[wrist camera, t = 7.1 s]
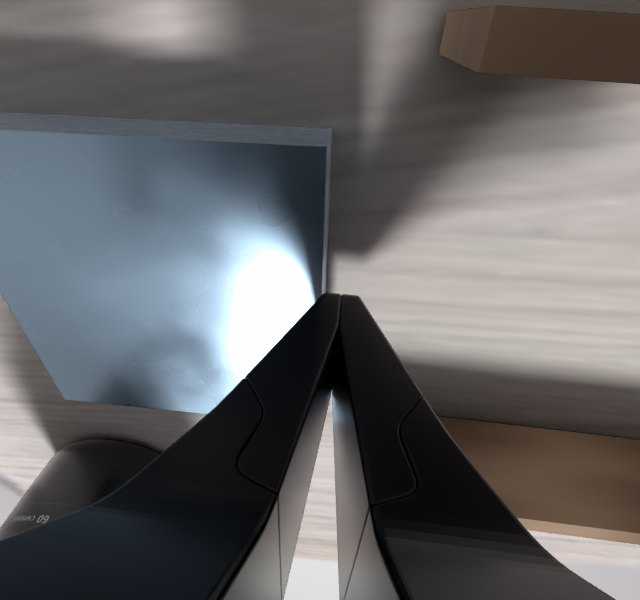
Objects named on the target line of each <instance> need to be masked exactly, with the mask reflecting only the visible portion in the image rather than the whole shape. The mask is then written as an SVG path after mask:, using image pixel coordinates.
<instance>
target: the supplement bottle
mask: <svg viewBox="0 0 640 600" xmlns="http://www.w3.org/2000/svg"><path fill="white" fill-rule="evenodd" d="M159 455H160V454H158V453H156V452H154V451H151V450H149V449H146V448H143V447H140V446H137V445H134V444H130V443H126V442H121V441H115V440H107V439H88V440H82V441H78V442H75V443H72V444H70V445H68V446H66V447H64V448H62V449H61V450H59V451H58V452H57V453H56V454H55V455H54V456H53V457H52V458H51V460H50V461H49V462H48V463H47V465H46V466H45V467H44V469H43V470H42V471H41V473H40V474H39V476H38V477H37V478H36V479H35V481H34V482H33V483H32V485H31V486H30V487H29V489H28V490H27V492H26V493H25V494H24V496H23V497H22V498H21V500H20V501H19V503H18V504H17V506H16V507H15V508H14V509H13V511H12V512H11V514H10V515H9V516H8V518H7V519H6V520H5V522H4V523H3V524H2V526H1V527H0V540H1V539H4V538H6V537H9V536H12V535H14V534H17V533H20V532H22V531H25V530H27V529H30V528H33V527H35V526H38V525H41V524H43V523H46V522H49V521H51V520H54V519H56V518H59V517H62V516H64V515H67V514H70V513H72V512H75V511H78V510H80V509H83V508H85V507H87V506H90V505H92V504H93V503H95V502H97V501H99V500H101V499H103V498H104V497H106V496H108V495H109V494H111V493H113V492H114V491H116V490H117V489H118V488H120V487H121V486H123V485H124V484H125V483H127V482H128V481H129V480H130V479H132V478H133V477H134V476H135V475H137V474H138V473H139V472H140V471H141V470H143V469H144V468H145V467H146V466H147V465H148V464H150V463H151V462H152V461H153V460H154V459H156V458H157V457H158V456H159Z"/></svg>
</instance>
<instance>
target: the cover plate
mask: <svg viewBox="0 0 640 600" xmlns="http://www.w3.org/2000/svg"><path fill="white" fill-rule="evenodd" d="M331 153H332V128H312V127H292V126H272V125H252V124H232V123H212V122H192V121H172V120H152V119H132V118H112V117H92V116H72V115H52V114H32V113H12V112H0V293H1V294H2V296H3V298H4V299H5V301H6V303H7V304H8V306H9V308H10V309H11V311H12V313H13V314H14V316H15V318H16V320H17V321H18V323H19V325H20V326H21V328H22V330H23V331H24V333H25V335H26V336H27V338H28V340H29V341H30V343H31V345H32V346H33V348H34V350H35V351H36V353H37V355H38V356H39V358H40V360H41V361H42V363H43V365H44V366H45V368H46V370H47V371H48V373H49V375H50V376H51V378H52V380H53V381H54V383H55V385H56V386H57V388H58V390H59V391H60V393H61V395H62V396H63V398H64V400H74V401H84V402H94V403H104V404H114V405H124V406H134V407H143V408H153V409H163V410H173V411H183V412H193V413H203V414H208V413H209V412H210V411H211V410H213V409H214V408H215V407H216V406H217V405H218V404H219V403H220V402H221V401H222V400H223V399H224V398H225V397H226V396H227V395H228V394H229V393H230V392H231V391H232V390H233V389H234V388H235V387H236V386H237V384H238V383H239V382H240V381H241V380H242V379H243V378H245V377H246V375H247V374H248V373H249V372H250V371H251V370H252V369H253V368H254V367H255V366H256V364H257V363H258V362H259V361H260V360H261V359H262V358H263V357H264V356H265V355H266V354H267V353H268V352H269V351H270V350H271V348H272V347H273V346H274V345H275V344H276V343H277V342H278V341H279V340H280V339H281V338H282V337H283V336H284V335H285V334H286V332H287V331H288V330H289V329H290V328H291V327H292V326H293V325H294V324H295V323H296V322H297V321H298V320H299V319H300V318H301V316H302V315H303V314H304V313H305V312H306V311H307V310H308V309H309V308H310V307H311V306H312V305H313V304H314V303H315V302H316V301H317V299H318V298H319V297H320V296H321V295H322V294H323V293H326V274H327V250H328V226H329V202H330V178H331Z"/></svg>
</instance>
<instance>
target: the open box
mask: <svg viewBox="0 0 640 600" xmlns="http://www.w3.org/2000/svg"><path fill="white" fill-rule="evenodd" d="M439 55H441V56H443V57H445V58H448V59H450V60H452V61H454V62H456V63H458V64H460V65H463V66H465V67H467V68H469V69H471V70H473V71H475V72H477V73H487V74H502V75H516V76H530V77H545V78H559V79H574V80H588V81H603V82H617V83H631V84H640V14H628V13H612V12H595V11H579V10H562V9H545V8H529V7H512V6H488V7H480V8H472V9H464V10H456V11H448V12H447V15H446V20H445V25H444V30H443V35H442V40H441V45H440V50H439ZM437 417H438V418H439V420H440V421H441V423H442V424H443V426H444V427H445V428H446V430H447V431H448V433H449V434H450V436H451V437H452V438H453V439H454V441H455V442H456V443H457V445H458V446H459V447H460V448H461V450H462V451H463V452H464V454H465V455H466V456H467V457H468V459H469V460H470V461H471V462H472V464H473V465H474V466H475V467H476V469H477V470H478V471H479V472H480V473H481V475H482V476H483V477H484V478H485V480H486V481H487V482H488V483H489V484H490V486H491V487H492V488H493V489H494V491H495V492H496V493H497V494H498V496H499V497H500V498H501V499H502V500H503V502H504V503H505V504H506V505H507V507H508V508H509V509H510V510H511V511H512V513H513V514H514V515H515V516H516V518H517V519H518V520H519V521H520V522H521V524H522V525H523V526H524V527H525V528H526V529H527V530H532V531H539V532H547V533H554V534H562V535H570V536H577V537H585V538H593V539H600V540H608V541H616V542H623V543H631V544H638V545H640V440H637V439H628V438H620V437H611V436H603V435H594V434H586V433H577V432H569V431H560V430H552V429H543V428H534V427H526V426H517V425H509V424H500V423H492V422H483V421H475V420H466V419H457V418H449V417H440V416H437Z"/></svg>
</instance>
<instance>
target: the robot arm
mask: <svg viewBox="0 0 640 600" xmlns="http://www.w3.org/2000/svg"><path fill="white" fill-rule="evenodd" d="M331 391H332V407H333V435H334V462H335V489H336V516H337V543H338V569H339V597H340V600H615V599H614V598H612V597H611V596H609V595H608V594H606V593H605V592H603V591H601V590H600V589H598V588H597V587H595V586H594V585H592V584H591V583H589V582H587V581H586V580H584V579H583V578H581V577H580V576H578V575H577V574H575V573H573V572H572V571H571V570H569V569H568V568H567V567H565V566H564V565H563V564H562V563H560V562H559V561H558V560H557V559H555V558H554V557H553V556H552V555H551V554H550V553H549V552H548V551H547V550H545V549H544V548H543V547H542V546H541V545H540V544H539V543H538V542H537V541H536V539H535V538H534V537H533V536H532V535H531V534H530V533H529V532H528V531H527V529H526V528H525V527H524V526H523V525H522V524H521V522H520V521H519V520H518V519H517V518H516V516H515V515H514V514H513V513H512V511H511V510H510V509H509V508H508V507H507V505H506V504H505V503H504V502H503V500H502V499H501V498H500V497H499V496H498V494H497V493H496V492H495V491H494V489H493V488H492V487H491V486H490V484H489V483H488V482H487V481H486V480H485V478H484V477H483V476H482V475H481V473H480V472H479V471H478V470H477V469H476V467H475V466H474V465H473V464H472V462H471V461H470V460H469V459H468V457H467V456H466V455H465V454H464V452H463V451H462V450H461V448H460V447H459V446H458V445H457V443H456V442H455V441H454V439H453V438H452V437H451V436H450V434H449V433H448V431H447V430H446V428H445V427H444V426H443V424H442V423H441V421H440V420H439V418H438V417H437V415H436V414H435V413H434V411H433V409H432V408H431V406H430V405H429V403H428V402H427V400H426V399H425V398H423V394H422V393H421V391H420V390H419V388H418V386H417V385H416V383H415V382H414V380H413V379H412V377H411V376H410V374H409V373H408V371H407V369H406V368H405V366H404V365H403V363H402V362H401V360H400V359H399V357H398V356H397V354H396V352H395V351H394V349H393V348H392V346H391V345H390V343H389V342H388V340H387V339H386V337H385V335H384V334H383V332H382V331H381V329H380V328H379V326H378V325H377V323H376V322H375V320H374V319H373V317H372V315H371V314H370V312H369V311H368V309H367V308H366V306H365V305H364V303H363V302H362V300H361V298H360V297H359V296H356V295H345V294H343V295H342V296H341V295H340V294H335V293H323V294H322V295H321V296H320V297H319V298H318V299H317V301H316V302H315V303H314V304H313V305H312V306H311V307H310V308H309V309H308V310H307V311H306V312H305V313H304V314H303V315H302V316H301V318H300V319H299V320H298V321H297V322H296V323H295V324H294V325H293V326H292V327H291V328H290V329H289V330H288V331H287V332H286V334H285V335H284V336H283V337H282V338H281V339H280V340H279V341H278V342H277V343H276V344H275V345H274V346H273V347H272V348H271V350H270V351H269V352H268V353H267V354H266V355H265V356H264V357H263V358H262V359H261V360H260V361H259V362H258V363H257V364H256V366H255V367H254V368H253V369H252V370H251V371H250V372H249V373H248V374H247V375H246V377H245V378H243V379H242V380H241V381H240V382H239V383H238V384H237V386H236V387H235V388H234V389H233V390H232V391H231V392H230V393H229V394H228V395H227V396H226V397H225V398H224V399H223V400H222V401H221V402H220V403H219V404H218V405H217V406H216V407H215V408H214V409H213V410H211V411H210V412H209V413H208V414H207V415H206V416H205V417H204V418H202V419H201V420H200V421H199V422H198V423H197V424H196V425H195V426H193V427H192V428H191V429H190V430H189V431H188V432H186V433H185V434H184V435H183V436H182V437H180V438H179V439H178V440H177V441H176V442H175V443H173V444H172V445H171V446H170V447H169V448H167V449H166V450H165V451H164V452H163V453H161V454H160V455H159V456H158V457H157V458H156V459H154V460H153V461H152V462H151V463H150V464H148V465H147V466H146V467H145V468H144V469H143V470H141V471H140V472H139V473H138V474H137V475H135V476H134V477H133V478H132V479H130V480H129V481H128V482H127V483H125V484H124V485H123V486H121V487H120V488H118V489H117V490H116V491H114V492H113V493H111V494H109V495H108V496H106V497H104V498H103V499H101V500H99V501H97V502H95V503H93V504H92V505H90V506H87V507H85V508H83V509H80V510H78V511H75V512H72V513H70V514H67V515H64V516H62V517H59V518H56V519H54V520H51V521H49V522H46V523H43V524H41V525H38V526H35V527H33V528H30V529H27V530H25V531H22V532H20V533H17V534H14V535H12V536H9V537H6V538H4V539H1V540H0V600H283V599H284V594H285V589H286V586H287V582H288V577H289V573H290V568H291V564H292V560H293V556H294V551H295V547H296V543H297V539H298V534H299V530H300V526H301V521H302V517H303V513H304V508H305V504H306V500H307V495H308V491H309V487H310V483H311V478H312V474H313V470H314V465H315V461H316V457H317V452H318V448H319V444H320V440H321V435H322V431H323V427H324V422H325V418H326V414H327V409H328V405H329V401H330V397H331Z"/></svg>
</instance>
